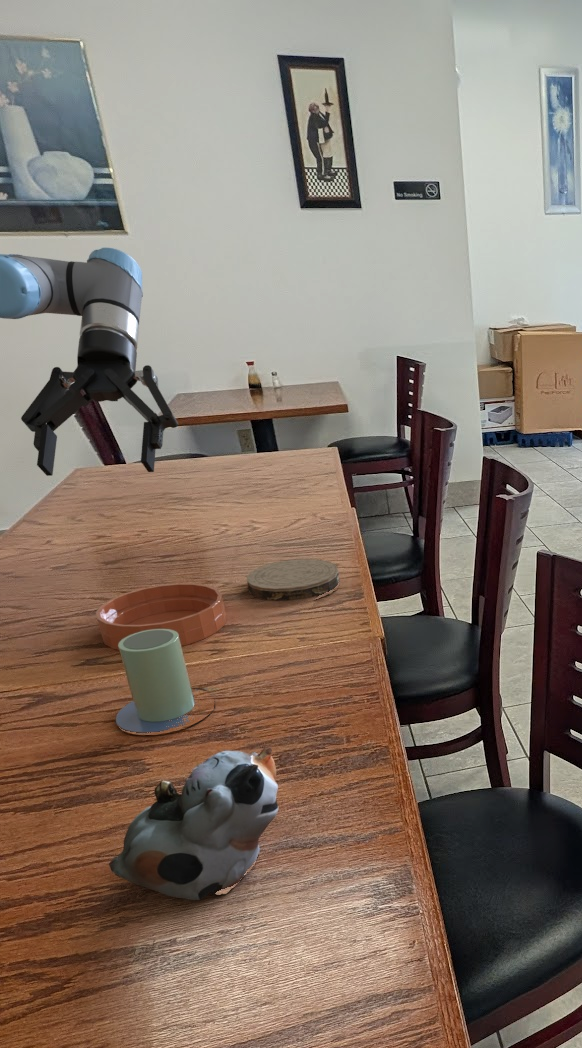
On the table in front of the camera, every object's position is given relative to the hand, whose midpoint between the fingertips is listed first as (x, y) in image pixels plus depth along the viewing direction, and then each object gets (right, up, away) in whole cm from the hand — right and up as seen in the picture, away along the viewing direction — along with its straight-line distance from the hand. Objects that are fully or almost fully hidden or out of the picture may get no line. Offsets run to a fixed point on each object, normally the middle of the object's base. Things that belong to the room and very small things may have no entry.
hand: (96, 468), depth 115 cm
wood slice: (+16, -14, +35) cm, 41 cm away
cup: (+13, -33, -7) cm, 36 cm away
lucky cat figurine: (+30, -47, -33) cm, 65 cm away
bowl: (+1, -22, +18) cm, 28 cm away
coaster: (+13, -34, -6) cm, 37 cm away
